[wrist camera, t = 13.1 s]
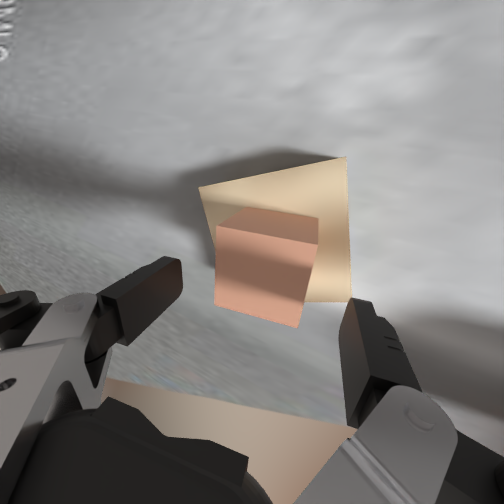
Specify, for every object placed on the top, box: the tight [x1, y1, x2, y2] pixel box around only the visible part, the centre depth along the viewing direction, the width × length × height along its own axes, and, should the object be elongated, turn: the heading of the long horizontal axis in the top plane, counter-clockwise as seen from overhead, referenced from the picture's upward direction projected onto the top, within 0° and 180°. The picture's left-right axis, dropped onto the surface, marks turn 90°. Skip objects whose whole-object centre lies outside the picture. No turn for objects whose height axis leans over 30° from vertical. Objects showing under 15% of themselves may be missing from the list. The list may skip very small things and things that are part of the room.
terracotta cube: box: [214, 207, 319, 328], centre depth 13 cm, size 5×5×5 cm
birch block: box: [198, 157, 352, 302], centre depth 18 cm, size 10×10×5 cm
